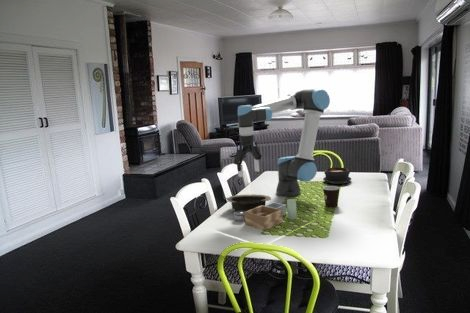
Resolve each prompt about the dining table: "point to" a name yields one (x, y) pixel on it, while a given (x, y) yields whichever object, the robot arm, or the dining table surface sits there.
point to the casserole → (337, 175)
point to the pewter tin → (239, 216)
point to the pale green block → (291, 208)
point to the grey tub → (278, 207)
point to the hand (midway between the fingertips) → (249, 174)
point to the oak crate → (263, 217)
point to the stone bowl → (247, 201)
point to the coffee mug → (331, 196)
